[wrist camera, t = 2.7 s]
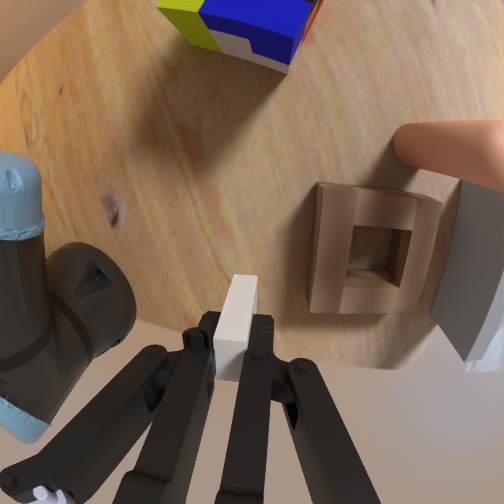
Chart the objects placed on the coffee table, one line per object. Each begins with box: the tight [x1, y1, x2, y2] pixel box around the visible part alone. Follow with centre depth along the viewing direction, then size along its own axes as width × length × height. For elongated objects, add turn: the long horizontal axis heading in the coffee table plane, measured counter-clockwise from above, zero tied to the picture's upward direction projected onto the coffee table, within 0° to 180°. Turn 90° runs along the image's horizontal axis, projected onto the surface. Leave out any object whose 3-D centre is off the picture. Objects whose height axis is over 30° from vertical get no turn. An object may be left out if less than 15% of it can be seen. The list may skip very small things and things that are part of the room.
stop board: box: [430, 179, 504, 362], centre depth 23 cm, size 3×18×10 cm, turn 178°
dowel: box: [393, 120, 504, 192], centre depth 17 cm, size 4×4×14 cm
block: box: [306, 182, 442, 314], centre depth 26 cm, size 12×12×4 cm
